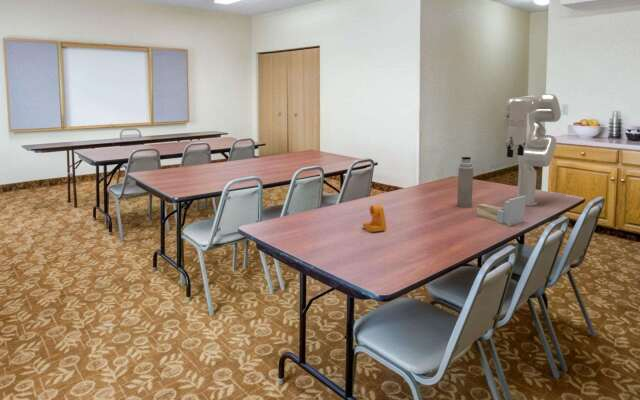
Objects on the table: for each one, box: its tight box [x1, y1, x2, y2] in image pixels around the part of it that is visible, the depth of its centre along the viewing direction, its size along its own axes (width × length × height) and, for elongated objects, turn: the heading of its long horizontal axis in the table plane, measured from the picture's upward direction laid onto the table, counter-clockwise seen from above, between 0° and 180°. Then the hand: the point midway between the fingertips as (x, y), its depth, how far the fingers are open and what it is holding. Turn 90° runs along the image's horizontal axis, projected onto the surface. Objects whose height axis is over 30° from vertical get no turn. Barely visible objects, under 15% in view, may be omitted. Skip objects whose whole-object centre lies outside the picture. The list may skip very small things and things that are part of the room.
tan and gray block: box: [476, 203, 504, 221], centre depth 257 cm, size 5×16×6 cm, turn 38°
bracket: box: [362, 204, 387, 233], centre depth 240 cm, size 11×7×12 cm, turn 23°
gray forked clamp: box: [496, 196, 526, 227], centre depth 249 cm, size 8×13×13 cm, turn 128°
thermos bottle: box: [456, 156, 474, 208], centre depth 283 cm, size 8×8×28 cm
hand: (515, 156), depth 263 cm, fingers open, 9 cm apart
